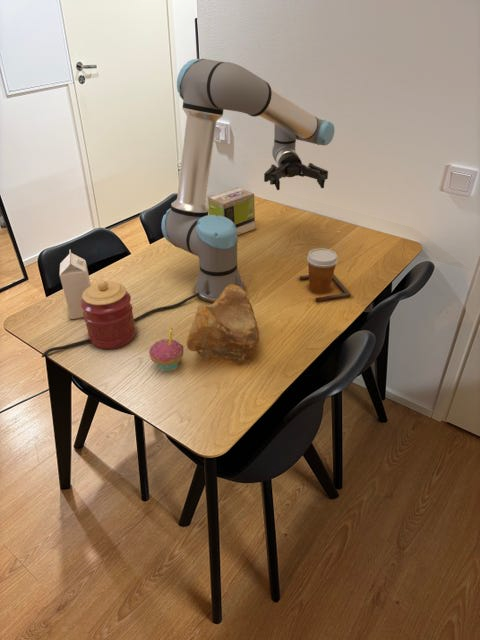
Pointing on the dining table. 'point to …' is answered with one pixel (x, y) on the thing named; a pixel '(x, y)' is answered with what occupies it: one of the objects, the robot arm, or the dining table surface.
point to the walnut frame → (332, 297)
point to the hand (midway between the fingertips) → (300, 184)
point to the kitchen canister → (108, 314)
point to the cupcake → (166, 353)
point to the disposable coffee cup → (321, 269)
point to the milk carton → (74, 283)
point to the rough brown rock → (225, 327)
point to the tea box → (235, 208)
